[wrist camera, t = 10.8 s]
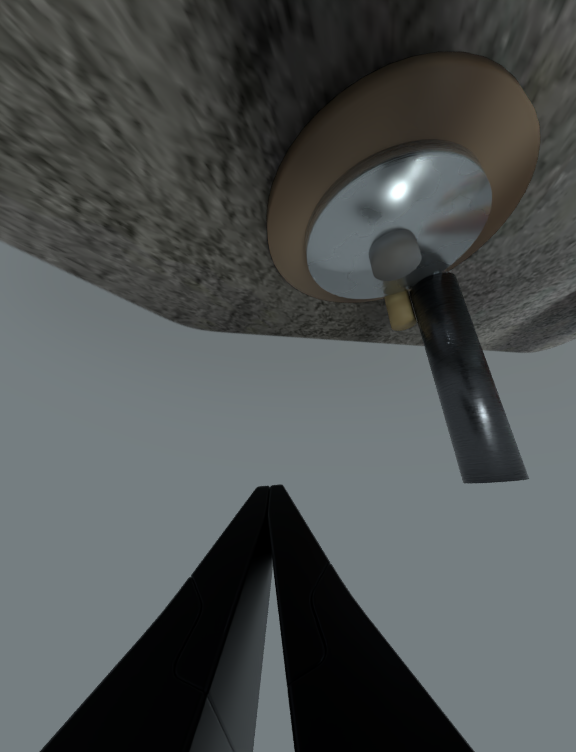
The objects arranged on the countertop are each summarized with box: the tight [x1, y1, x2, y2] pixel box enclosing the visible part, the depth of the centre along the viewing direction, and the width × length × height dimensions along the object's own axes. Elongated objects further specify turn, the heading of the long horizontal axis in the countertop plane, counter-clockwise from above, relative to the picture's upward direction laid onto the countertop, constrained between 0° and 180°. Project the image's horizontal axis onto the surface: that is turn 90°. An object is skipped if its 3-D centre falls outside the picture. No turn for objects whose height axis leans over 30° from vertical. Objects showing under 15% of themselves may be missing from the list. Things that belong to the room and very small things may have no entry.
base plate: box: [267, 52, 540, 331], centre depth 15 cm, size 13×13×4 cm
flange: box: [305, 139, 529, 483], centre depth 14 cm, size 11×9×13 cm
